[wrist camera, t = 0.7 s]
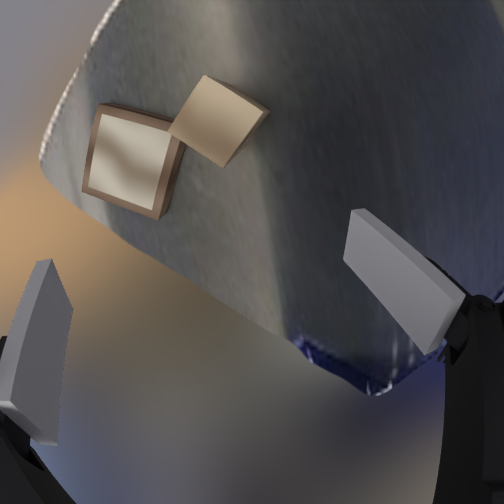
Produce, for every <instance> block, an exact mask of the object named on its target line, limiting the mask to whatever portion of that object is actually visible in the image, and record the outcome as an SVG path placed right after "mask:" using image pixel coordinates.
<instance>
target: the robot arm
mask: <svg viewBox="0 0 504 504" xmlns="http://www.w3.org/2000/svg"><path fill="white" fill-rule="evenodd" d="M343 260H344V261H345V262H346V263H347V264H348V266H349V267H350V268H351V269H352V270H353V271H354V272H355V273H356V274H357V276H358V277H359V278H360V279H361V280H362V281H363V282H364V283H365V285H366V286H367V287H368V288H369V289H370V290H371V291H372V293H373V294H374V295H375V296H376V297H377V298H378V300H379V301H380V302H381V303H382V304H383V305H384V307H385V308H386V309H387V310H388V311H389V312H390V314H391V315H392V316H393V317H394V318H395V320H396V321H397V322H398V323H399V324H400V326H401V327H402V328H403V329H404V330H405V332H406V333H407V334H408V335H409V336H410V338H411V339H412V340H413V341H414V343H415V344H416V345H417V346H418V348H419V349H420V350H421V351H422V353H423V354H424V355H426V354H428V353H430V352H432V351H433V350H435V349H437V348H438V347H439V345H440V343H441V341H442V340H443V338H445V339H446V341H447V344H446V346H445V347H444V349H443V351H442V353H441V354H440V356H439V357H438V361H437V362H440V361H441V359H442V358H443V356H445V360H444V361H443V363H445V411H444V412H445V413H444V427H443V438H442V449H441V457H440V464H439V471H438V478H437V483H436V490H435V494H434V499H433V503H432V504H504V300H503V302H502V303H494V302H493V301H492V300H491V299H489V298H488V297H486V296H483V295H474V296H471V295H470V294H469V293H468V292H467V291H466V290H465V289H464V288H463V287H462V286H461V285H460V284H459V283H458V282H456V281H455V280H454V279H453V278H452V277H451V276H449V275H448V273H447V272H446V271H444V270H442V268H441V267H440V266H439V265H438V264H437V263H435V262H434V261H433V260H431V259H429V258H427V257H425V256H423V255H421V254H420V253H419V252H418V251H417V250H416V249H414V248H413V247H412V246H411V245H410V244H409V243H407V242H406V241H405V240H404V239H403V238H401V237H400V236H399V235H398V234H396V233H395V232H394V231H393V230H392V229H390V228H389V227H388V226H387V225H385V224H384V223H383V222H382V221H380V220H379V219H378V218H376V217H375V216H374V215H373V214H371V213H370V212H369V211H367V210H366V209H365V208H363V209H355V210H351V216H350V223H349V229H348V235H347V241H346V246H345V252H344V257H343ZM72 314H73V308H72V305H71V303H70V301H69V298H68V296H67V294H66V292H65V289H64V287H63V285H62V282H61V280H60V278H59V275H58V273H57V270H56V268H55V265H54V263H53V260H52V259H47V260H42V261H37V262H36V265H35V267H34V269H33V271H32V273H31V276H30V278H29V280H28V283H27V285H26V287H25V290H24V292H23V295H22V297H21V300H20V302H19V305H18V308H17V310H16V313H15V316H14V319H13V322H12V325H11V327H10V330H9V333H8V336H2V337H1V339H0V504H76V503H75V502H74V501H73V499H72V498H71V497H70V496H69V495H68V494H67V492H66V491H65V490H64V489H63V487H62V486H61V485H60V484H59V483H58V481H57V480H56V479H55V477H54V476H53V475H52V474H51V472H50V471H49V470H48V468H47V467H46V466H45V464H44V463H43V461H42V460H41V459H40V457H39V456H38V454H37V453H36V451H35V450H34V449H33V448H32V447H31V446H30V437H31V438H32V439H33V440H35V441H36V442H37V443H38V444H40V445H58V429H59V410H60V397H61V387H62V377H63V369H64V361H65V354H66V348H67V341H68V335H69V329H70V324H71V319H72Z"/></svg>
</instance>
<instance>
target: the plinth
mask: <svg viewBox="0 0 504 504" xmlns="http://www.w3.org/2000/svg"><path fill="white" fill-rule="evenodd" d="M173 122H174V119H171V118H167V117H164V116H160V115H157V114H153V113H149V112H146V111H142V110H138V109H134V108H130V107H126V106H122V105H118V104H114V103H102V104H98V106H97V110H96V114H95V118H94V123H93V127H92V132H91V137H90V142H89V147H88V152H87V158H86V164H85V170H84V177H83V184H82V192H84V193H87V194H89V195H92V196H95V197H97V198H100V199H102V200H105V201H108V202H110V203H113V204H116V205H118V206H121V207H124V208H126V209H129V210H132V211H134V212H137V213H140V214H142V215H145V216H148V217H150V218H153V219H156V220H159V219H160V218H161V217H162V216H163V215H164V214H166V213H167V211H168V207H169V203H170V200H171V196H172V192H173V188H174V185H175V181H176V178H177V174H178V171H179V167H180V164H181V160H182V157H183V154H184V150H185V147H186V144H185V143H184V142H182V141H181V140H179V139H178V138H176V137H175V136H173V135H172V134H170V133H168V132H167V131H168V130H169V128H170V127H171V125H172V123H173Z"/></svg>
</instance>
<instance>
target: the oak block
mask: <svg viewBox="0 0 504 504" xmlns="http://www.w3.org/2000/svg"><path fill="white" fill-rule="evenodd" d="M270 112H271V111H270V110H269V109H267V108H266V107H264V106H263V105H261V104H260V103H258V102H257V101H255V100H254V99H252V98H251V97H249V96H248V95H246V94H245V93H243V92H242V91H240V90H238V89H237V88H235V87H234V86H232V85H229V84H227V83H225V82H222V81H220V80H217V79H215V78H212V77H210V76H207V75H204V76H203V77H202V79H201V80H200V81H199V83H198V84H197V86H196V87H195V89H194V90H193V92H192V93H191V95H190V96H189V98H188V99H187V101H186V103H185V104H184V106H183V107H182V109H181V110H180V112H179V114H178V115H177V117H176V118H175V120H174V122H173V123H172V125H171V127H170V128H169V130H168V131H167V132H168V133H170V134H172V135H173V136H175V137H176V138H178V139H179V140H181V141H182V142H184V143H185V144H187V145H189V146H190V147H192V148H193V149H195V150H196V151H198V152H199V153H201V154H202V155H204V156H205V157H207V158H208V159H210V160H211V161H213V162H214V163H216V164H217V165H219V166H220V167H222V168H224V167H225V166H226V165H227V164H228V163H229V162H230V161H231V160H232V159H233V158H234V157H235V156H236V155H237V154H238V153H239V152H240V151H241V150H242V149H243V148H244V147H245V145H246V144H247V143H248V141H249V140H250V139H251V137H252V136H253V134H254V133H255V132H256V130H257V129H258V128H259V126H260V125H261V124H262V122H263V121H264V120H265V118H266V117H267V116H268V114H269V113H270Z"/></svg>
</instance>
